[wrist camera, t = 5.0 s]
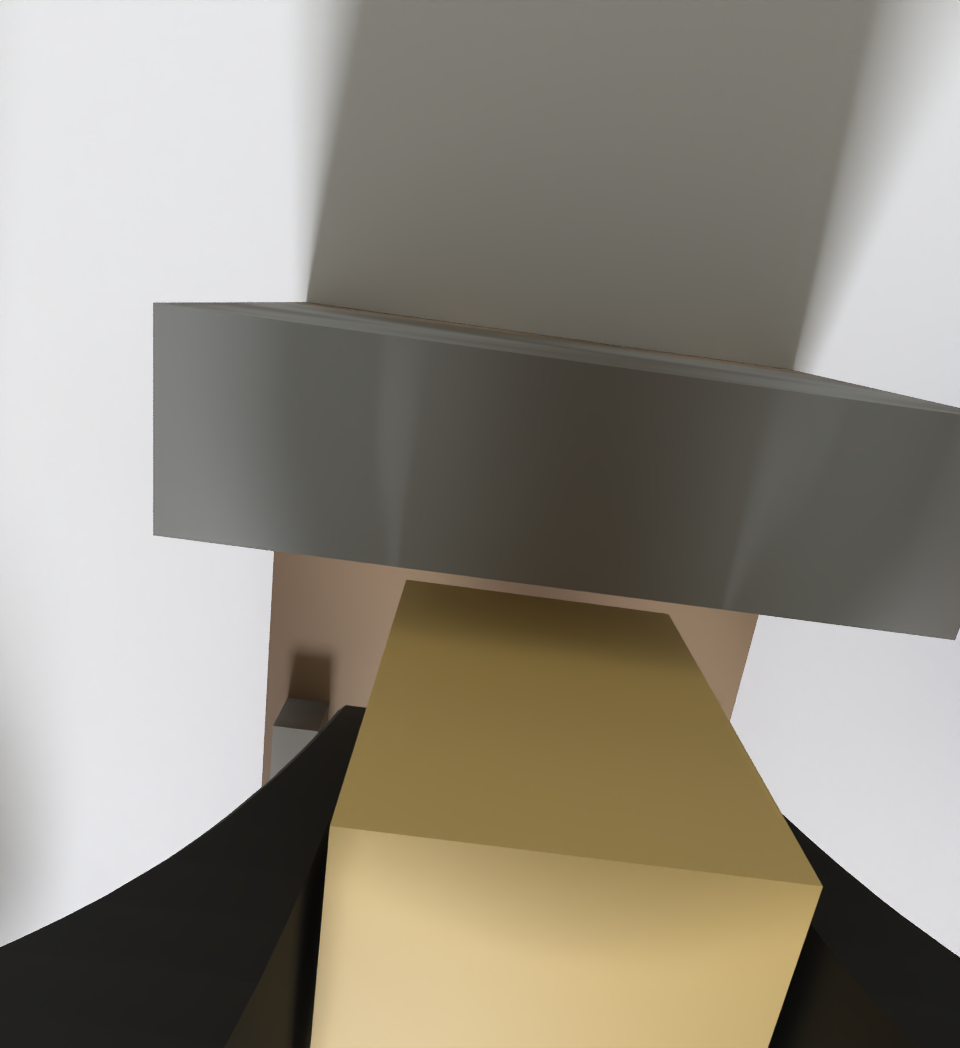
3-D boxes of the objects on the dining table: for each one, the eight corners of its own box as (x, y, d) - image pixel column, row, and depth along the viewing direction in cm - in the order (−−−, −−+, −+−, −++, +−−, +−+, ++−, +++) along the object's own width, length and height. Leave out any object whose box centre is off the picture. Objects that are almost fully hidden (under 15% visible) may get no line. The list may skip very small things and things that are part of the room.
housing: (381, 801, 14) (299, 1170, 8) (406, 579, 12) (330, 825, 6) (618, 830, 14) (710, 1215, 8) (668, 613, 12) (822, 887, 7)
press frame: (259, 1082, 23) (153, 1437, 16) (305, 302, 16) (153, 301, 9) (599, 1121, 23) (647, 1486, 16) (793, 370, 16) (1033, 425, 9)
